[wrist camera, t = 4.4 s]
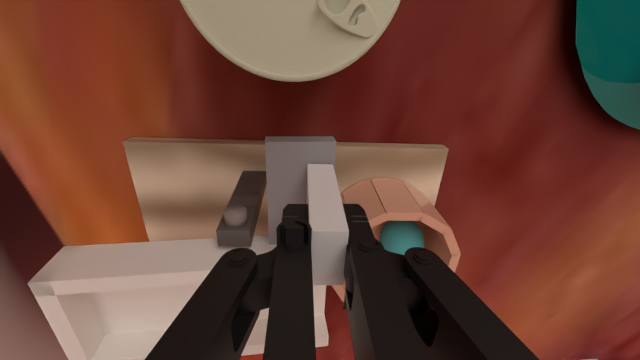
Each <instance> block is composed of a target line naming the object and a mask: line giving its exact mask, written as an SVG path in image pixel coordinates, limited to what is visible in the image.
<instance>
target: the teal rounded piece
mask: <svg viewBox="0 0 640 360" xmlns="http://www.w3.org/2000/svg"><path fill="white" fill-rule="evenodd" d="M576 47H577V51H578V55H579V59H580V62H581V66H582V70H583V74H584V78H585V80H586V82H587V84H588V86H589V88H590V90H591V92H592V94H593V96H594V97H595V99H596V100H597V101H598V103H599V104H600V105H601V107H602V108H603V109H604V110H605V111H606V112H607V113H608V114H609V115H610V116H612V117H613V118H615V119H616V120H618V121H620V122H622V123H624V124H626V125H628V126H630V127H633V128H636V129H639V130H640V0H577V11H576Z"/></svg>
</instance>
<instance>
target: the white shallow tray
mask: <svg viewBox="0 0 640 360" xmlns="http://www.w3.org/2000/svg"><path fill="white" fill-rule="evenodd" d="M265 156H266V180H267V204H268V228H269V235H264V236H253V240H252V244H251V246H218V242H217V238H209V239H190V240H172V241H154V242H136V243H117V244H99V245H81V246H64V247H63V248H62V249H61V250H60V251H59V252H58V253H57V254H56V255H55V256H54V257H53V258H52V259H51V260H50V261H49V262H48V263H47V264H46V265H45V266H44V267H43V268H42V269H41V270H40V271H39V272H38V273H37V274H36V275H35V276H34V277H33V278H32V279H31V280H30V281H29V282H28V285H29V287H30V289H31V291H32V293H33V294H34V296H35V298H36V300H37V302H38V304H39V305H40V307H41V309H42V311H43V313H44V315H45V317H46V319H47V320H48V322H49V324H50V326H51V328H52V330H53V331H54V333H55V335H56V337H57V339H58V341H59V343H60V344H61V346H62V348H63V350H64V352H65V354H66V356H67V357H68V359H69V360H145V358H146V357H147V356H148V354H149V353H150V352H151V350H152V349H153V348H154V346H155V345H156V344H157V342H158V341H159V340H160V338H161V337H162V336H163V334H164V333H165V331H166V330H167V329H168V327H169V326H170V325H171V323H172V322H173V321H174V319H175V318H176V317H177V315H178V314H179V313H180V311H181V310H182V309H183V307H184V306H185V305H186V303H187V302H188V301H189V299H190V298H191V297H192V295H193V294H194V293H195V291H196V290H197V289H198V287H199V286H200V285H201V283H202V282H203V281H204V279H205V278H206V277H207V275H208V274H209V272H210V271H211V270H212V268H213V267H214V266H215V264H216V263H217V262H218V260H219V259H220V258H221V256H223V255H224V254H225V253H226V252H228V251H230V250H232V249H236V248H248V249H251V250H253V251H254V252H255V253H256V255H259V254H264V253H267V252H269V251H271V250H273V249H274V248H275V247H276V246H277V232H276V228H277V226H278V225H279V224H280V223H281V222H282V214H283V209H284V208H285V206H286V205H287V204H306V202H307V164H333V167H334V170H335V156H336V140H335V138H334V137H333V136H265ZM325 295H326V285H313V300H314V324H315V347H322V346H328V339H329V336H328V331H327V325H326V320H325V315H324V309H325ZM268 313H269V308H267V309H263V310H260V314H259V316H258V319H257V321H256V323H255V325H254V328H253V330H252V332H251V334H250V337H249V339H248V341H247V343H246V346H245V348H244V350H243V352H242V355H241V356H244V355H253V354H261V353H264V345H265V337H266V329H267V321H268Z"/></svg>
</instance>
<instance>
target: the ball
mask: <svg viewBox="0 0 640 360" xmlns="http://www.w3.org/2000/svg"><path fill="white" fill-rule="evenodd" d="M379 241H380V242H381V243H382V245H383V246H384V249H385V250H387V251H390V252H393V253H397V254H402V255H405V252H406V251H407V249H409V248H412V247H421V248H424V243H425V241H424V235H423V233H422V231H421V229H420V228H419V226H418V225H417V224H415V223H414V222H412V221H389V222H387V223H386V224H385V225H384V226H383V228H382V229H381V231H380V235H379Z"/></svg>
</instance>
